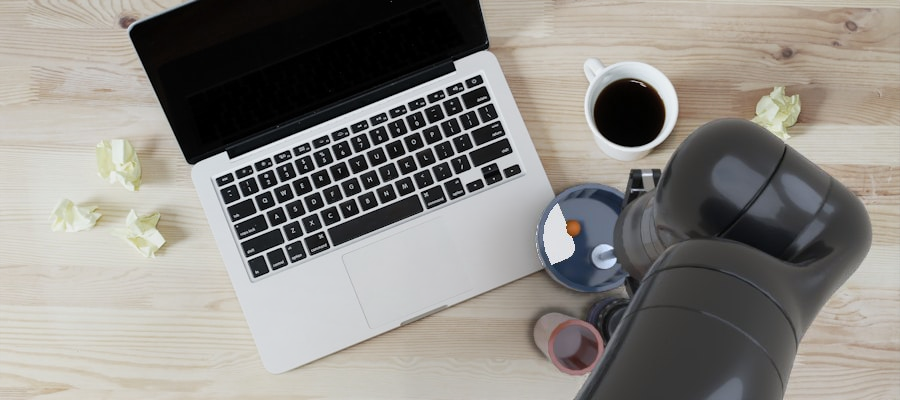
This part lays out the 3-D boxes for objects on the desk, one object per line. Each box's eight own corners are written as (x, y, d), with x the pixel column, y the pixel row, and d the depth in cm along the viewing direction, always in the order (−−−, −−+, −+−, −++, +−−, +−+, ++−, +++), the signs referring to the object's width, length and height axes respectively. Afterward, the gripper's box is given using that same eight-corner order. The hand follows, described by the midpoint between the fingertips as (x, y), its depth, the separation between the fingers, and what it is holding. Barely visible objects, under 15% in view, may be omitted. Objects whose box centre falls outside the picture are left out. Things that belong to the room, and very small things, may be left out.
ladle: (616, 269, 87) (654, 262, 67) (590, 270, 87) (621, 262, 67) (615, 244, 87) (653, 229, 67) (589, 244, 87) (620, 229, 67)
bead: (573, 240, 88) (586, 230, 87) (568, 239, 86) (581, 228, 85) (563, 228, 88) (575, 217, 88) (557, 226, 87) (570, 215, 86)
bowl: (640, 291, 87) (649, 291, 82) (535, 292, 88) (538, 292, 83) (636, 188, 89) (645, 183, 84) (533, 190, 89) (536, 184, 84)
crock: (576, 355, 87) (604, 375, 67) (533, 355, 87) (548, 375, 67) (575, 312, 87) (602, 319, 67) (533, 312, 87) (547, 319, 68)
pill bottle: (580, 342, 87) (594, 350, 76) (591, 291, 87) (607, 292, 77) (632, 355, 86) (653, 365, 75) (643, 304, 87) (666, 306, 76)
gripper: (619, 145, 56) (585, 180, 73) (626, 329, 54) (590, 320, 71) (720, 143, 56) (662, 179, 73) (730, 328, 54) (668, 320, 71)
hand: (626, 249), depth 72 cm, fingers closed on ladle, 1 cm apart
